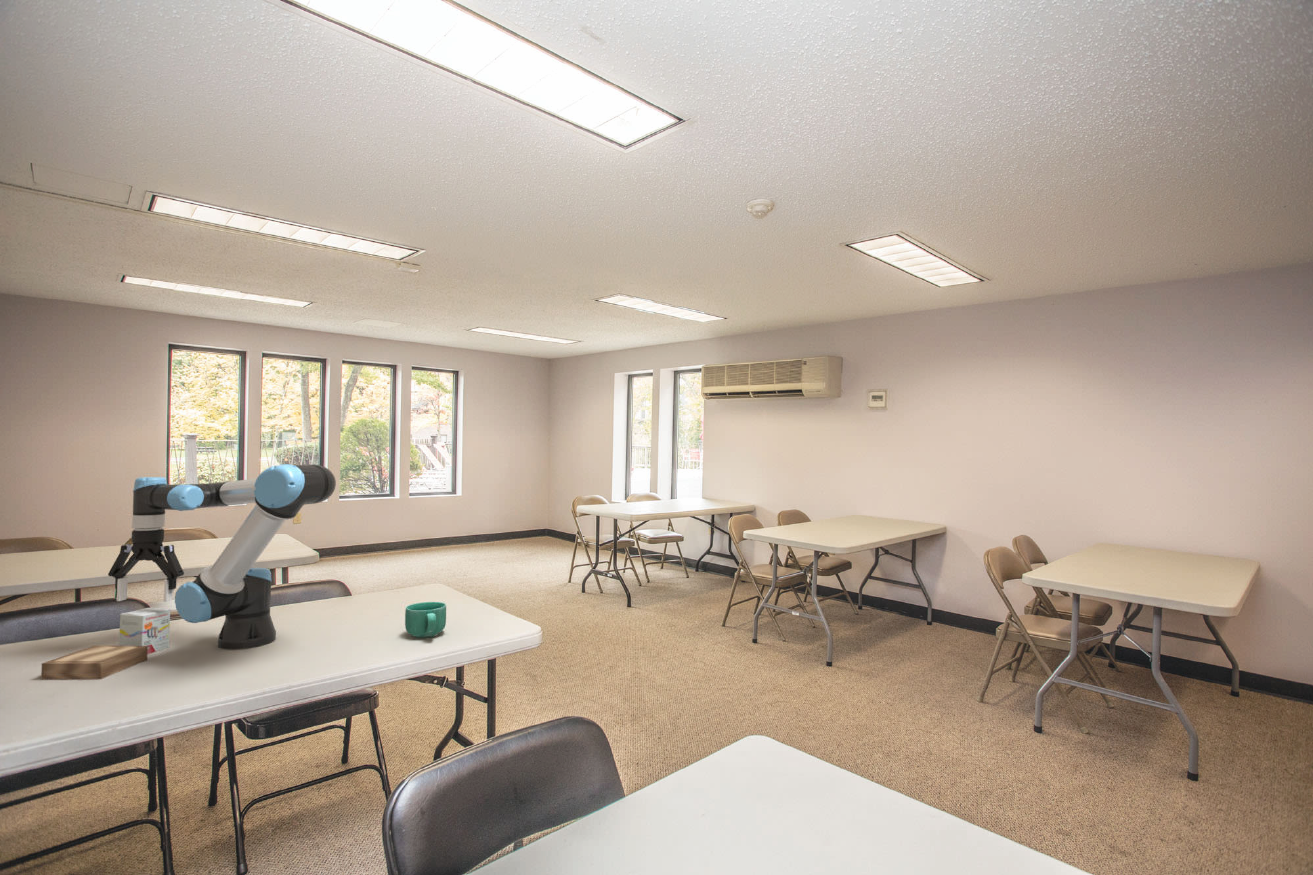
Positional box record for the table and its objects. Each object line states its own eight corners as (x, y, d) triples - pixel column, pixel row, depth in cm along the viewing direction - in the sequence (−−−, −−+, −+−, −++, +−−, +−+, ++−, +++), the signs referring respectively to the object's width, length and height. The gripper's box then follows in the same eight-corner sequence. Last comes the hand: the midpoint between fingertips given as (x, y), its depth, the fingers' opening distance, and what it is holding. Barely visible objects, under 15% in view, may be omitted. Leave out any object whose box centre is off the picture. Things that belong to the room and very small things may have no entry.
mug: (403, 632, 203) (404, 603, 203) (443, 628, 208) (444, 600, 208) (406, 646, 188) (407, 615, 188) (449, 641, 193) (450, 611, 194)
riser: (147, 659, 173) (147, 645, 174) (100, 678, 158) (101, 662, 159) (92, 660, 173) (93, 645, 173) (41, 679, 158) (41, 663, 158)
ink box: (141, 656, 177) (142, 615, 177) (117, 654, 178) (118, 613, 179) (170, 647, 185) (171, 607, 186) (147, 645, 187) (148, 606, 187)
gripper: (199, 527, 187) (197, 597, 186) (116, 526, 186) (113, 596, 186) (181, 530, 180) (178, 603, 179) (94, 529, 179) (90, 602, 178)
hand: (145, 600), depth 182 cm, fingers open, 13 cm apart
